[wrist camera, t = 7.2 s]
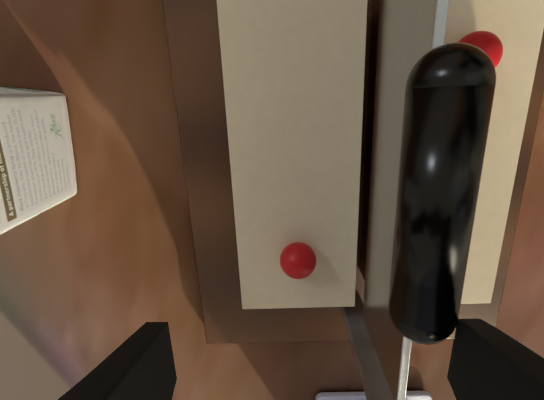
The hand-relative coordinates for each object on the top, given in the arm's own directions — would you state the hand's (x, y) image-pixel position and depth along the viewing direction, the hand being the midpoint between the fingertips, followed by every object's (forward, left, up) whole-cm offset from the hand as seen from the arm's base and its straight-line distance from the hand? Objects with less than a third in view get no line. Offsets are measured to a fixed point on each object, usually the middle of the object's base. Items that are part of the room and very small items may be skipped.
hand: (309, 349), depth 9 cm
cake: (+4, -3, -10) cm, 12 cm away
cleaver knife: (+4, -3, -6) cm, 8 cm away
